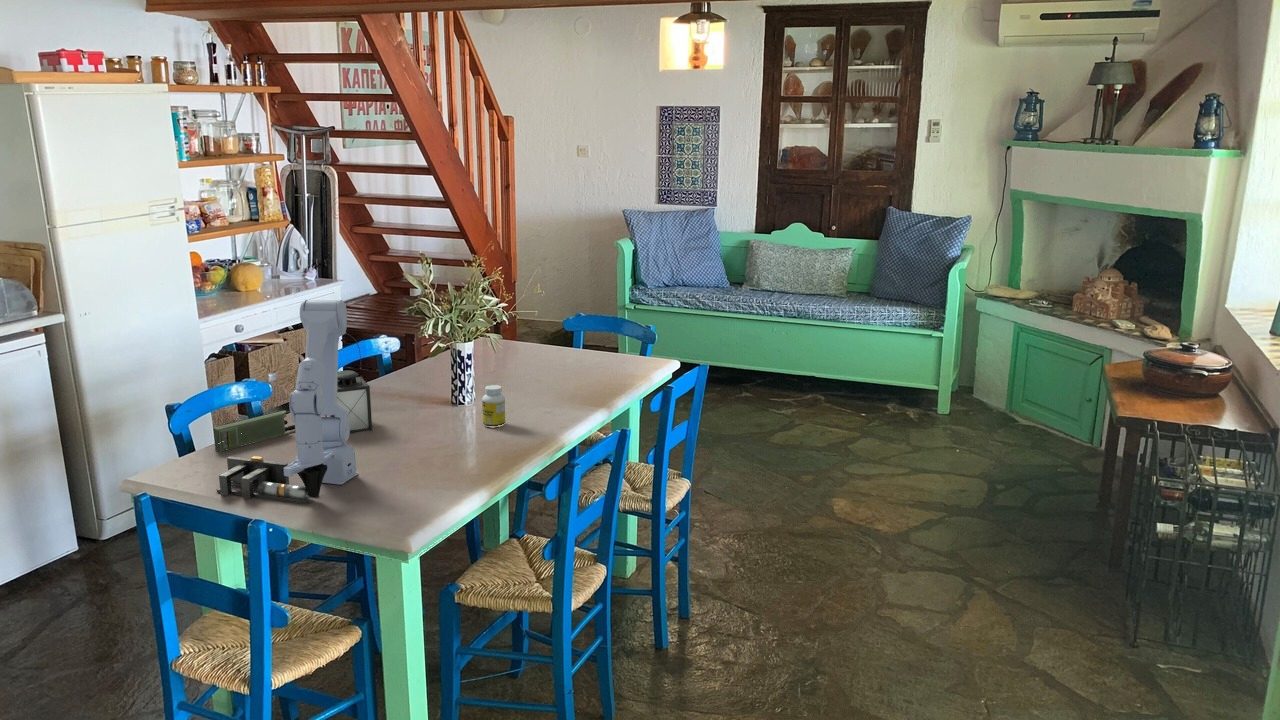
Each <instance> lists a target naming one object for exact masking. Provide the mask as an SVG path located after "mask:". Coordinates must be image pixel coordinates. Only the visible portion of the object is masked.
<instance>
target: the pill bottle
mask: <svg viewBox="0 0 1280 720" xmlns="http://www.w3.org/2000/svg"><path fill="white" fill-rule="evenodd" d="M484 392H485V394H484V395H483V397H482V398H481V400H482V403H481V406H482V425H483V424H484V425H485V426H498V425H502V424H504V423H505V424H506V398H505V396H504V395H503V394H502V392H503V391H502V386H501V385H498V384H494V385H493V384H491V385H485V387H484ZM484 425H483V426H484ZM485 426H484V427H485Z"/></svg>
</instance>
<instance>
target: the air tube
mask: <svg viewBox="0 0 1280 720" xmlns="http://www.w3.org/2000/svg"><path fill="white" fill-rule="evenodd" d="M257 493H258V494H266V495H273V496H281V497H289V498H297V499H305V500H310V498H311V497H310V496H308V493H307V490H306V487H305V485H304V486H303V485H295V484H294V485H293V484H289V485H288V484H280V483H272V482H264V481H263V482H261V483H260V484H259V486H258V489H257Z"/></svg>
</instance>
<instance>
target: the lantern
mask: <svg viewBox="0 0 1280 720" xmlns="http://www.w3.org/2000/svg"><path fill="white" fill-rule="evenodd" d="M344 335H348V336H350V338H352V339H353V340H354V341H355V343H356V346H357V348H358V352H359V360H360V361H359V362H360V366H359V367H360V369H362V357H361V349H360V346H359V344H358V342H357V340H356V339H355V337H353V336H352V335H351V334H349V333H347V332H346V333H345V334H344ZM371 401H372V400H371V387H370V384H368V383H367V382H366V381H365V379H364V378H363V376H359V373H358V372H356V371H354V370H348V369H347V370H338V377H337V404H339V405H340V406H341V407H343V408H344V409H345V410H346V411H347V412H348V414H349V424H350V434H356V433H362V432H368V431H369V432H371V431H372V432H373V420H372V404H371V403H372V402H371ZM324 417H339V416H337V415H324Z"/></svg>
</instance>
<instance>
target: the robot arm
mask: <svg viewBox="0 0 1280 720" xmlns="http://www.w3.org/2000/svg"><path fill="white" fill-rule="evenodd" d="M347 319H348V312H347V305H346V303H345V301H343V299H338V300H334V299H333V300H324V299H323V300H316V299H315V300H311V299H310V300H308V299H304V300H302V302H301V303H300V306H299V320H300V322H301V323H302V327H303V329H304V330H305V331H306V337H305V339H306V341H305V343H306V344H305V357H304V360H301V361H300V362H299V364H298V371H297V375H296V381H295V389H294V391H292V392H291V393H290V394H289V399H288V400H289V402H288V405H289V406H288V407H289V412H290V415H291V419H292V424H293V423H294V425H295V429H294V430H295V441H296V455H297V456H295V460H294V461H292V462H291V463H290V464H288V466H286V467H284V476H288V477H289V478H292V477H294V475H296V474H297V476H299V478H300V479H301V481H302V483H303V484H304V487H306V490H307V493H308V496H310V498H318V497H319V496H320V492H321V487H322V484H332V485H339V486H341V485H343V484H345V483H347V482H348V481H349V480H351V479H353V478H354V477H356V476H357V475H359V472H358V471H357V460H356V451H355V447H354V446H352V445H349V444H347V441H349V438H350V434H351V433H350V424H349V414H348V412H347V411H346V410H345V409H344V408H343V407H341V406H340V405H339V404H337V377H338V372H339V370H338V368H339V343H340V337H342V336H344V335H346V334H345V333H347V331H346V330H347V323H348V322H347V321H348V320H347ZM325 415H337V416H339V417H325ZM317 496H318V497H317Z"/></svg>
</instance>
